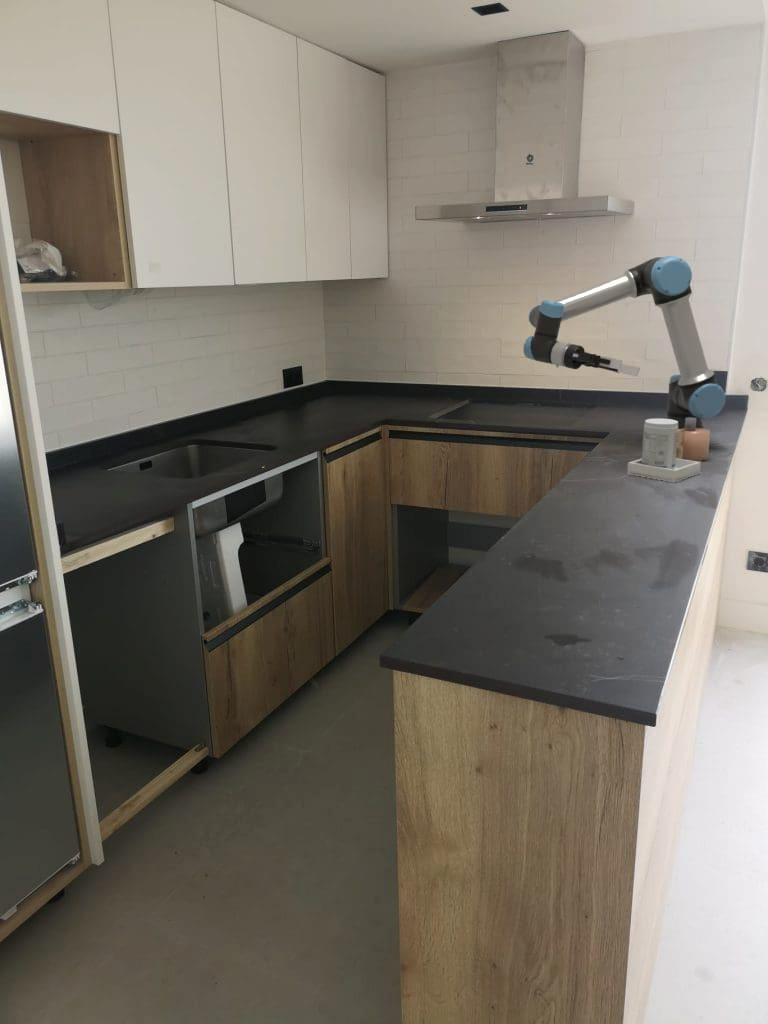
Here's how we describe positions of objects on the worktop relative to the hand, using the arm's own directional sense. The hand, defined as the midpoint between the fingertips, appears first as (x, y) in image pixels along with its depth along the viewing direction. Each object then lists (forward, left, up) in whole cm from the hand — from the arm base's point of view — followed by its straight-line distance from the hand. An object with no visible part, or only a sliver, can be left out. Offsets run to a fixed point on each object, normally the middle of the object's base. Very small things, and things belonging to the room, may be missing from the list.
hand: (629, 368), depth 245 cm
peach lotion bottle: (-20, +13, -29) cm, 38 cm away
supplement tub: (+6, +15, -28) cm, 33 cm away
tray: (+6, +17, -29) cm, 34 cm away
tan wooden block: (-8, +11, -29) cm, 32 cm away
